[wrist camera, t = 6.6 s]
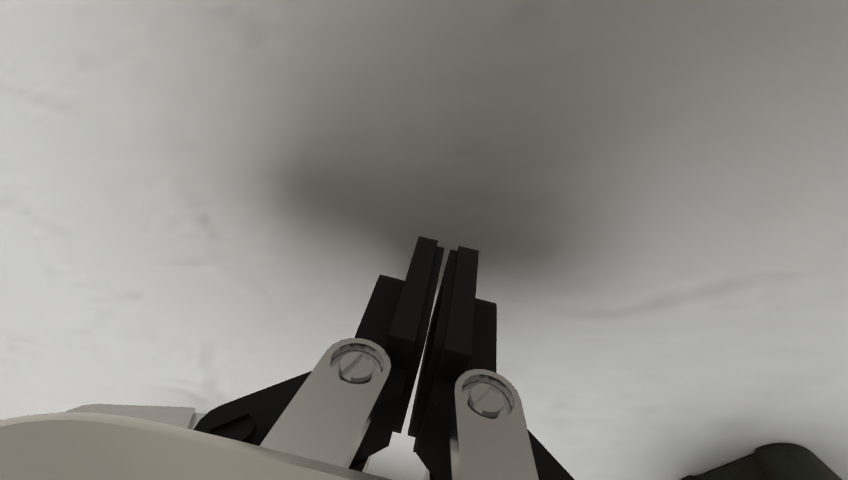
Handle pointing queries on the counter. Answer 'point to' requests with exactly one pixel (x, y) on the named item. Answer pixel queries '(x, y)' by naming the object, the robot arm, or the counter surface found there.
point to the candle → (774, 466)
